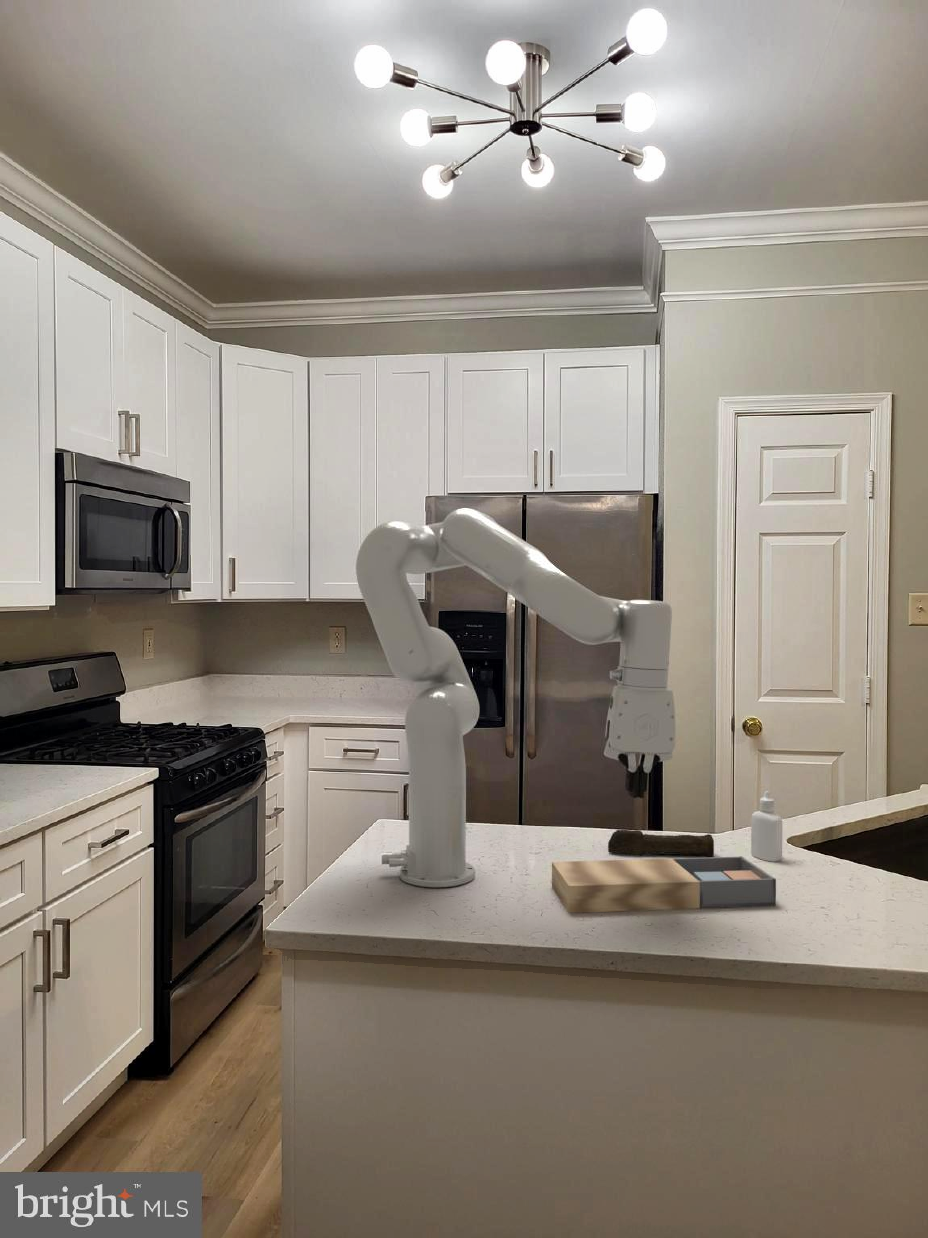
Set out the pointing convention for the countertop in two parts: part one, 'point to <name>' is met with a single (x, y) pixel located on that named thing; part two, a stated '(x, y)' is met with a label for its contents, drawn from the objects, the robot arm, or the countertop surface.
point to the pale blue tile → (710, 876)
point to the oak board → (624, 885)
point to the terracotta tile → (741, 875)
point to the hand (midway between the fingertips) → (635, 795)
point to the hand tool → (659, 844)
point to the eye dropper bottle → (766, 831)
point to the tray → (731, 883)
